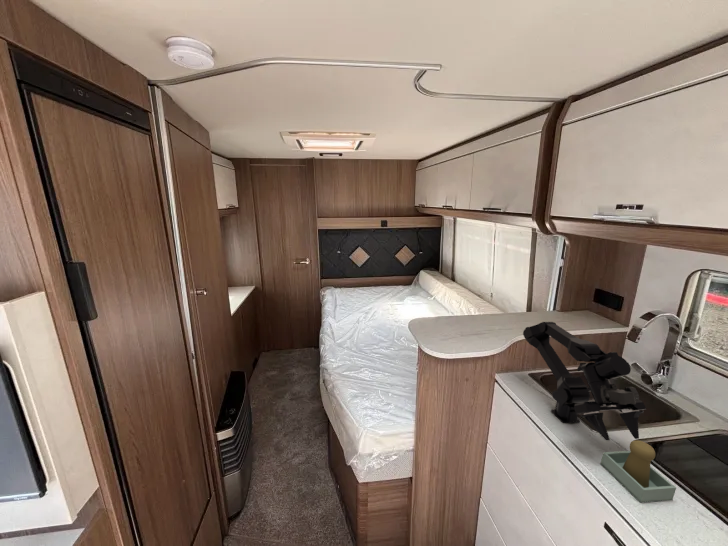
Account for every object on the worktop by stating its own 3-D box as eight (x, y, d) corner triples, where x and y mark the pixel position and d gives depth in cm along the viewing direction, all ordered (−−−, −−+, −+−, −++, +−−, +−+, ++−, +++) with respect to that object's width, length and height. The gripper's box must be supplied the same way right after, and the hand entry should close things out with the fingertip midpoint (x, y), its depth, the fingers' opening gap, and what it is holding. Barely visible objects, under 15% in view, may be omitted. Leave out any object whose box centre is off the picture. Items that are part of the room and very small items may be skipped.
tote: (600, 463, 90) (603, 452, 89) (628, 462, 91) (632, 450, 90) (640, 502, 79) (643, 490, 78) (672, 500, 80) (676, 487, 79)
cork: (614, 469, 88) (623, 436, 85) (635, 469, 88) (644, 436, 85) (633, 488, 82) (642, 453, 79) (655, 488, 82) (665, 454, 80)
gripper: (589, 377, 88) (615, 439, 81) (648, 376, 90) (678, 436, 83) (564, 385, 98) (584, 441, 90) (618, 383, 100) (642, 438, 92)
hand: (622, 439), depth 88 cm, fingers open, 9 cm apart
